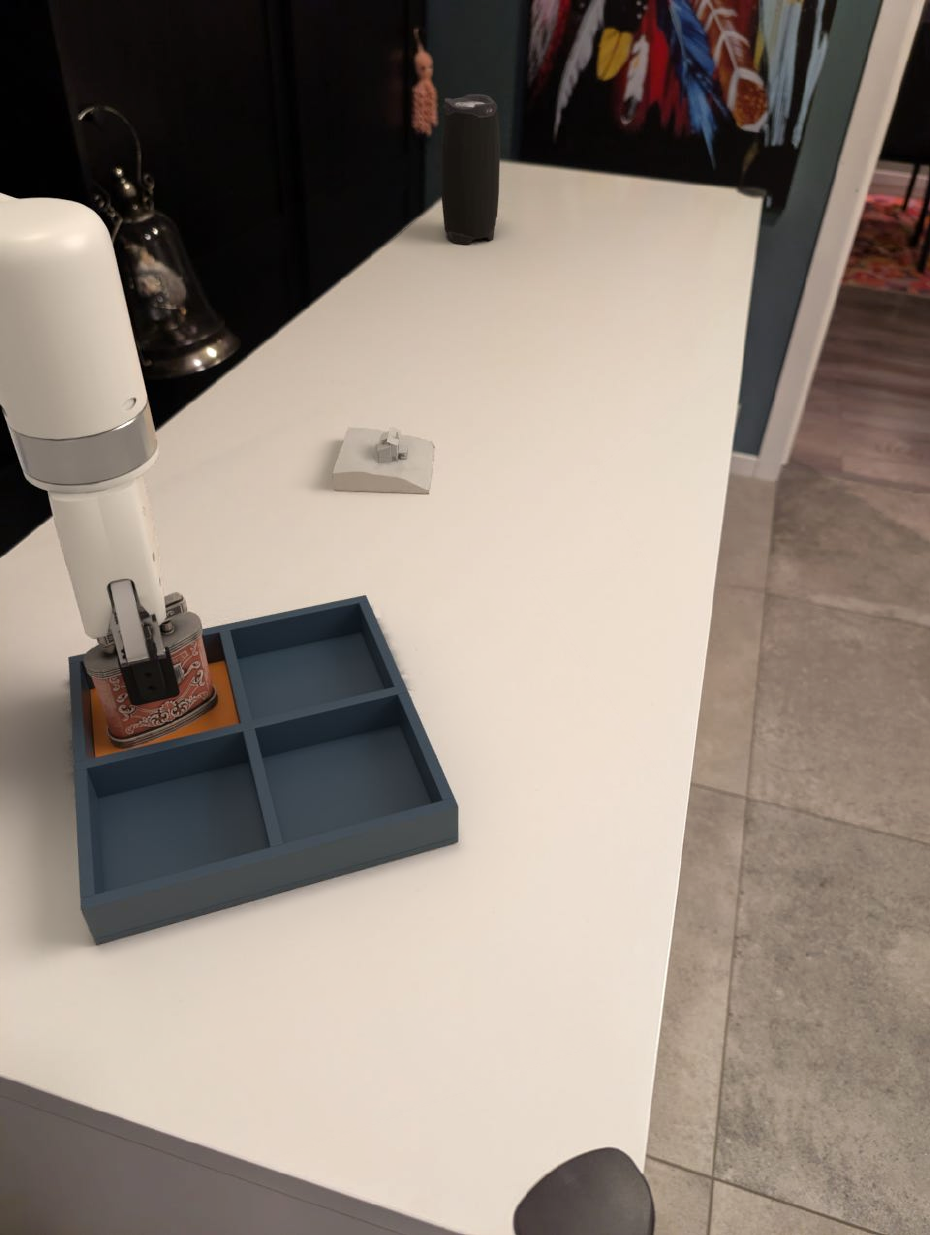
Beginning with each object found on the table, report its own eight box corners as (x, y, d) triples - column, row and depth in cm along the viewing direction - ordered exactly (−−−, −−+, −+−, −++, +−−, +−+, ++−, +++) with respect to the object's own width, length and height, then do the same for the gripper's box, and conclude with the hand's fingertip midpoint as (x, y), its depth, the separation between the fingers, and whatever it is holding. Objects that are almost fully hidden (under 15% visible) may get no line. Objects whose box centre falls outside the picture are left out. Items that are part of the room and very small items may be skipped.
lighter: (121, 757, 66) (85, 649, 60) (101, 729, 68) (64, 621, 62) (226, 706, 70) (203, 599, 64) (205, 681, 72) (180, 575, 66)
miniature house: (450, 491, 94) (450, 457, 92) (336, 503, 92) (333, 469, 90) (429, 432, 103) (429, 400, 101) (325, 442, 101) (321, 410, 99)
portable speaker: (433, 243, 150) (431, 103, 137) (455, 225, 156) (455, 90, 144) (485, 249, 147) (487, 108, 135) (505, 231, 154) (509, 95, 141)
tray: (80, 692, 72) (68, 656, 70) (368, 629, 78) (366, 594, 76) (95, 945, 56) (80, 910, 54) (458, 842, 62) (458, 806, 59)
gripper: (17, 383, 60) (89, 610, 71) (14, 529, 47) (102, 775, 59) (141, 366, 62) (192, 589, 73) (170, 502, 49) (225, 745, 61)
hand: (151, 670), depth 66 cm, fingers open, 4 cm apart
